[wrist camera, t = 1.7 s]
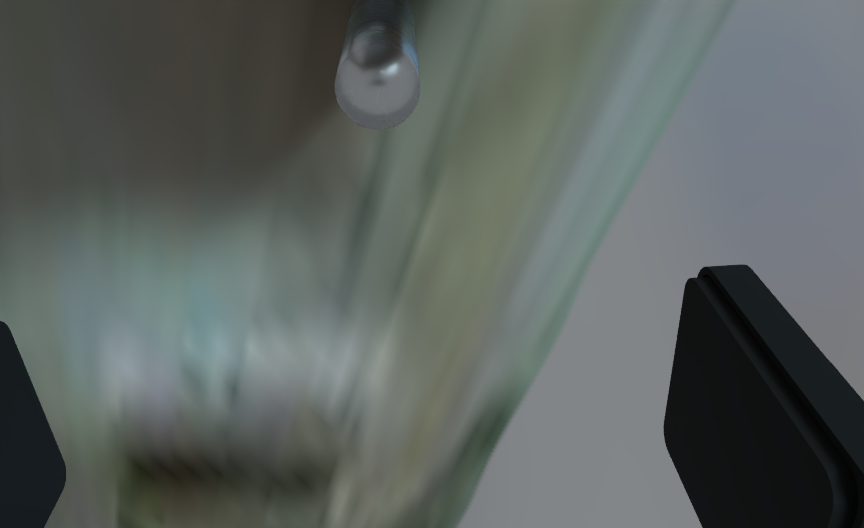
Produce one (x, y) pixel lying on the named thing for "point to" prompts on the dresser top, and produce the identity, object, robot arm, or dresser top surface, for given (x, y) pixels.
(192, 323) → the dresser top surface
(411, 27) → the gray frame with handle
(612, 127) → the dresser top surface
